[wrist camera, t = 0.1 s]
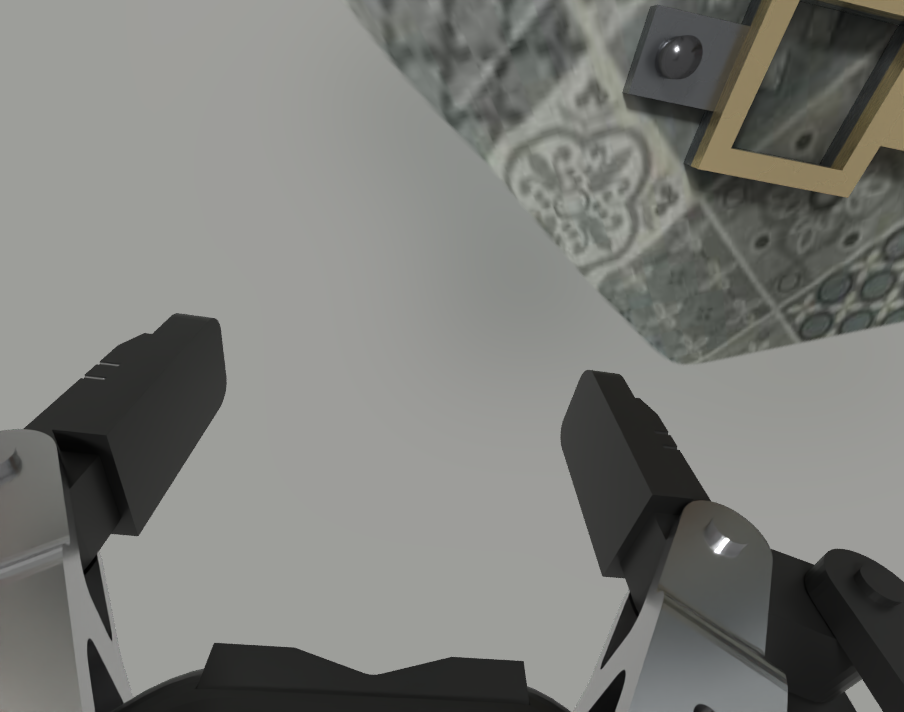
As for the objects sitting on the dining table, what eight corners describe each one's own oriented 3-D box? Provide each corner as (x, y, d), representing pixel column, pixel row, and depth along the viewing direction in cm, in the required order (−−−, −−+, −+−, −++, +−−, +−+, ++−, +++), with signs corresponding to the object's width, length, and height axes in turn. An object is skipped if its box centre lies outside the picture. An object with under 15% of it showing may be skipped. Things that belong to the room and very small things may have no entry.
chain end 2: (769, -44, 29) (799, -53, 27) (1021, 20, 31) (1069, 17, 29) (683, 163, 35) (700, 170, 33) (896, 203, 38) (926, 213, 35)
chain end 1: (674, -68, 28) (695, -79, 26) (939, -1, 30) (980, -6, 28) (604, 147, 35) (616, 153, 32) (825, 190, 37) (851, 199, 34)
